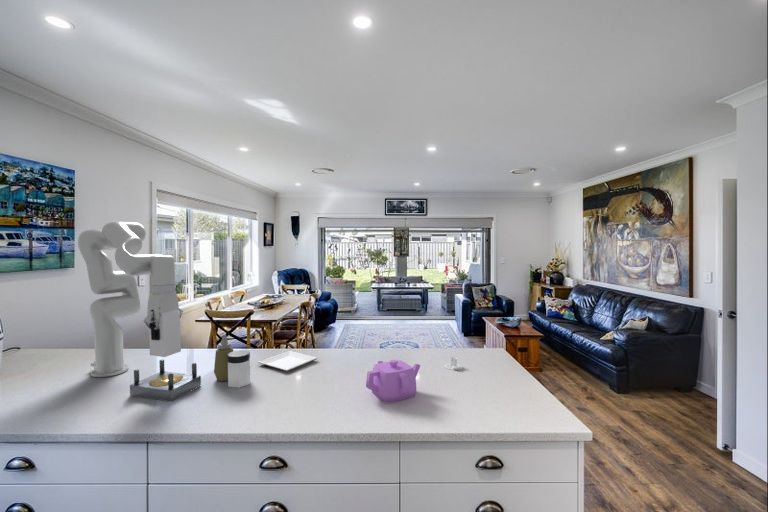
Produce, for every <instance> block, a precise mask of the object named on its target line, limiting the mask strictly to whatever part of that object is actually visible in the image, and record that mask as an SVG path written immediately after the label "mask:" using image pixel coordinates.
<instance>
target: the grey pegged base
mask: <svg viewBox="0 0 768 512" xmlns="http://www.w3.org/2000/svg"><path fill="white" fill-rule="evenodd" d="M158 362H159V372H157V373H154V374H153V375H149V376H148V377H145V378H143V379H141V380H140V369H134V370H133V382H134V383H132V384H129V396H130V397H134V398H135V397H136V398H140V399H141V398H142V399H143V398H144V399H148V400H149V399H150V400H154V401H155V400H156V401H163V402H170V403H172V402H174V401H176V400H177V399H179V398H181V397H183V396H185V395H186V393H187V394H188V392H189V393H191V392H192V391H194V390H196V389H197V388H196V387H198V386H200V385H201V386H202V378H201V377H202V376H201V375H198V373H197V371H198V369H197V367H198V366H197V363H196V362H193V363H191V373H181V372H172V371H165V359H159V361H158ZM201 386H200V387H201ZM195 388H196V389H195ZM198 388H199V387H198ZM193 389H194V390H193ZM191 390H192V391H191ZM190 391H191V392H190Z"/></svg>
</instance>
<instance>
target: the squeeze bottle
mask: <svg viewBox="0 0 768 512" xmlns="http://www.w3.org/2000/svg"><path fill="white" fill-rule="evenodd" d="M231 345H232V344H231V342H228V337H227V334H222V337H221V342H220V343H218V344H217V347H218V348H217V349H216V350H215V357H214V365H213V366H214V369H213V373H214V376H215V378H216V380H217V381H219V382H226V381H227V382H228V360H227V355H228V353H230V352H233V351H234V348H232V346H231Z"/></svg>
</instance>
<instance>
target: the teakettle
mask: <svg viewBox="0 0 768 512" xmlns="http://www.w3.org/2000/svg"><path fill="white" fill-rule="evenodd" d="M420 368H421V364H419V363H414V365H413V366H411V365H410V364H408V363H406V362H405V361H403V360H401V359H400V360H399V359H398V360H396V359H390V360H388V361H383V360H378V361H377V363H376V364H374V365H373V367H372V370H370V371H367V373H366V381H365V382H366V383H365V387H366V388H367V389H368V390H371V393H372V394H373V395H374V396H376V398H377V399H379V400H380V401H381V402H382V403H384V404H385V403H387V404H389V403H395V402H400V401H404V400H407V399H411V398H413V397H416V393H417V380H416V378H417V375H418V373H419V371H420Z"/></svg>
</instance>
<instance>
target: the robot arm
mask: <svg viewBox="0 0 768 512" xmlns="http://www.w3.org/2000/svg"><path fill="white" fill-rule="evenodd" d="M146 235H147V234H146V229H145V227H144V226H143V225H142V224H141V223H139V222H136V221H135V222H133V221H112V222H111V221H109V222H108V223H106V224H104V225H103V226H102V228H101V229H100V228H98V229H93V228H92V229H86V230H84V231H82V232H81V233H80V234H79V235H78V239H77V246H78V250H79V251H80V252H79V253H80V255H81V256H82V258H83V260H84V263H85V265H86V270H87V276H88V281H89V286H90V289H91V292H92V293H93V294H95V295H97V296H103V295H114V294H121V295H116V296H115V295H114V296H107V297H102V298H98V299H95V300H94V301H93V302H91V304H90V306H89V311H90V316H91V320H92V324H93V325H92V327H93V339H94V343H93V344H94V361H93V362H91V363H90V367H93V370H92V371H91V372H90V376H91V377H93V378H106V377H113V376H116V375H117V376H118V375H120V374H121V375H122V374H124V373H125V372H127V371H128V370H129V365H127V364H125V362H124V361H125V360H124V357H125V356H124V335H123V327H122V326H121V325H120V323H119V322H117V321H116V320H118V319H123V318H128V317H133V316H136V315H137V314H139V313H140V311H141V299H140V295H139V288H138V284H137V279H136V276H145V275H146V276H147V275H150V287H151V289H150V290H151V292H150V294H149V296H148V301H147V309H146V310H147V316H146V317H145V318H144V319H143V322H144V324H145V325H146V326H147V327H148V330H149V329H151V339H152V340H160V330H159V329H158V327H159V322H160V318H161V316H162V315H161V313H165V312H169V311H171V310H174V309H176V308H177V309H178V311H179V312H180V319H181V317H182V315H183V313H184V310H183V309H181V308H179V306H180V305H179V300H178V299H179V297H178V294H177V291H176V288H177V284H176V274H175V271H176V270H175V269H176V268H175V265H176V264H175V258H174V256H172V255H170V254H169V255H167V254H165V255H163V254H160V253H155V254H151V253H150V254H146V253H145V254H138V253H140V251H141V250H142V248H143V241H144V240H145V238H146ZM105 250H111V251H112V250H115V251H114V252H115V253H114V261H115V264H116V265H117V267H118V268H119V269H120V270H114V268H113V263H112V260H111V258H110V257H109V256H108V255H107V254H106V253H105V252H103V251H105ZM153 316H155V318H156V320H154V317H153ZM152 318H153V319H152ZM151 320H152V322H151ZM155 322H156V324H155ZM154 324H155V325H154Z"/></svg>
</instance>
